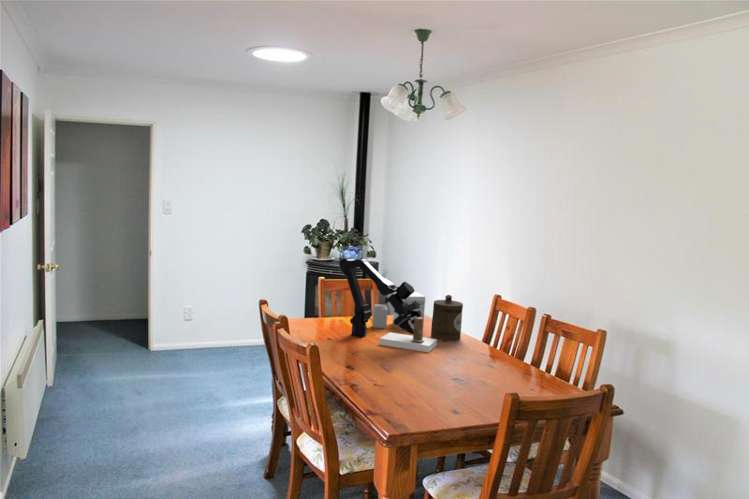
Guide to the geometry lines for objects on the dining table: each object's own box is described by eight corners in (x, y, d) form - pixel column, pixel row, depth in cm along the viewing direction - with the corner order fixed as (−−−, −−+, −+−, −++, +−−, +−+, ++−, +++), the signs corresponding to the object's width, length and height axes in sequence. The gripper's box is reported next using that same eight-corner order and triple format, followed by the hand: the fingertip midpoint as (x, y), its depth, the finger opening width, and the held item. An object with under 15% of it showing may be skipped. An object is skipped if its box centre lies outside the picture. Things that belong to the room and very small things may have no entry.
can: (386, 326, 342) (388, 304, 340) (385, 329, 334) (387, 306, 333) (372, 325, 342) (374, 303, 341) (371, 328, 335) (372, 305, 333)
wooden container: (461, 342, 317) (465, 298, 315) (431, 340, 317) (434, 296, 315) (458, 335, 332) (461, 293, 329) (429, 333, 332) (432, 291, 329)
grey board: (379, 344, 303) (379, 338, 303) (389, 338, 316) (389, 332, 316) (428, 352, 295) (429, 345, 295) (436, 345, 308) (436, 339, 308)
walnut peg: (412, 348, 300) (414, 319, 298) (411, 346, 304) (413, 316, 303) (422, 349, 300) (424, 319, 298) (421, 346, 305) (423, 317, 303)
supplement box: (392, 323, 350) (394, 291, 348) (414, 323, 354) (417, 291, 352) (400, 329, 337) (402, 296, 335) (423, 329, 341) (426, 296, 339)
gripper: (400, 297, 294) (420, 325, 290) (419, 292, 310) (438, 319, 306) (384, 311, 299) (404, 339, 295) (403, 306, 315) (422, 332, 311)
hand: (417, 332), depth 301 cm, fingers open, 9 cm apart
